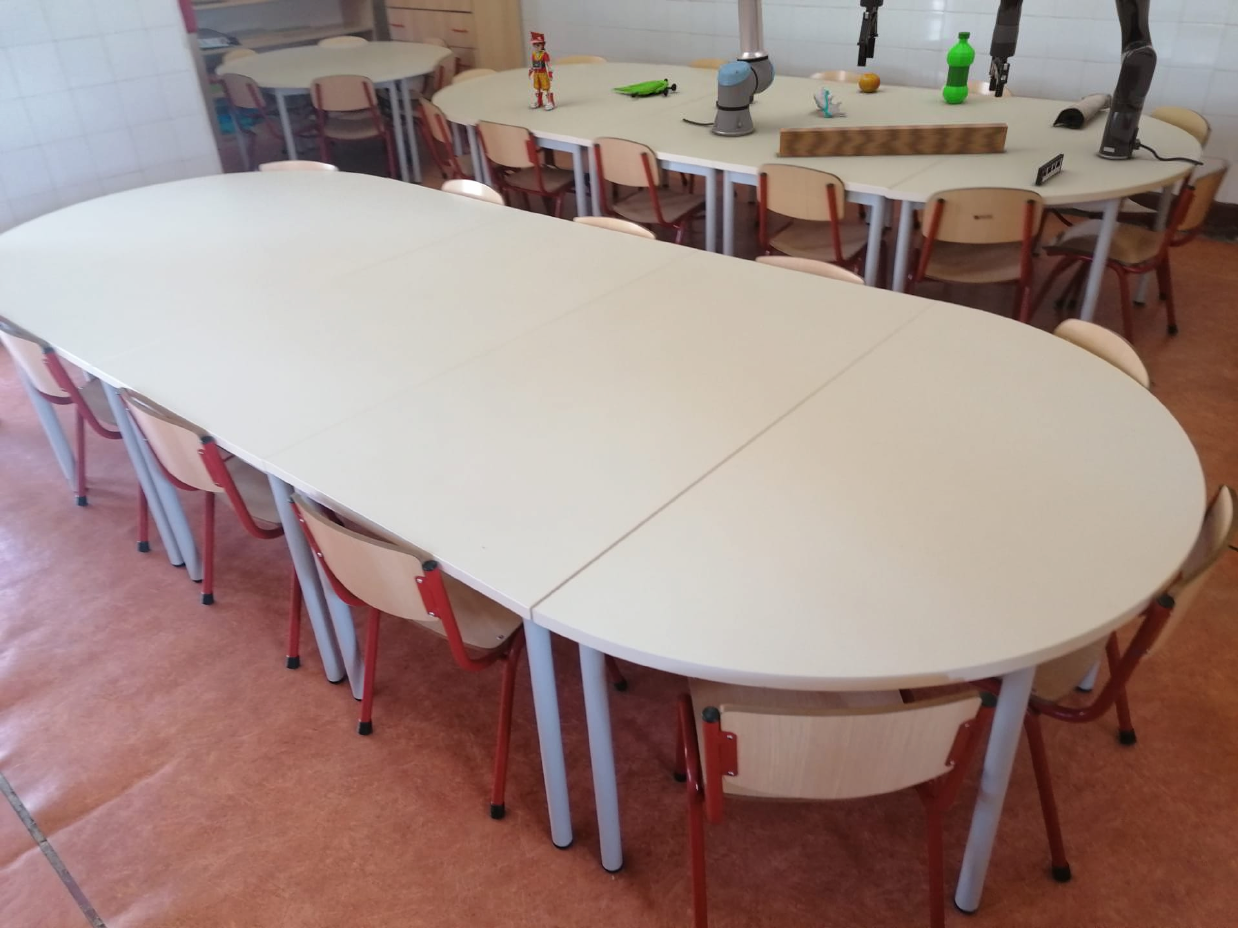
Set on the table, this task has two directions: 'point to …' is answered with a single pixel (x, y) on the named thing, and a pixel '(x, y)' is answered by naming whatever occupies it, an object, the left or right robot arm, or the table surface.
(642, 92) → the toy
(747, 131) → the left robot arm
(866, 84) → the fruit
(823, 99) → the anatomical model
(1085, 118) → the rolled mat
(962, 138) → the wooden plank
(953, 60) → the plastic bottle
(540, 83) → the toy
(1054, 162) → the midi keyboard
